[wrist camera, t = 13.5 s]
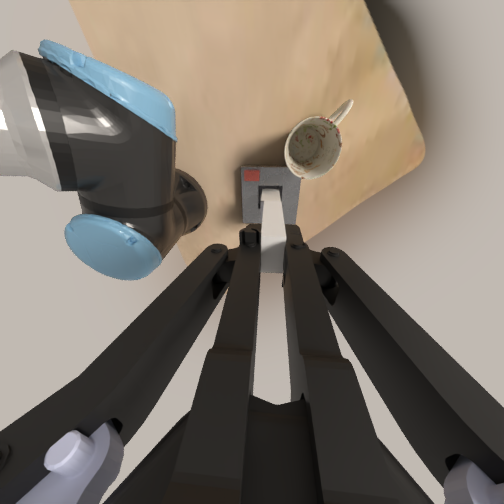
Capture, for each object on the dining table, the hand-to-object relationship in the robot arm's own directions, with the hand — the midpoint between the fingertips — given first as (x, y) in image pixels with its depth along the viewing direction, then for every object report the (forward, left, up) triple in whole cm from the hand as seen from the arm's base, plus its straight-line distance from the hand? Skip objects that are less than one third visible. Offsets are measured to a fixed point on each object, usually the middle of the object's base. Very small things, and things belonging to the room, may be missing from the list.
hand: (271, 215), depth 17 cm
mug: (+7, +5, -27) cm, 28 cm away
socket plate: (0, -6, -26) cm, 27 cm away
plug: (0, -6, -26) cm, 27 cm away
